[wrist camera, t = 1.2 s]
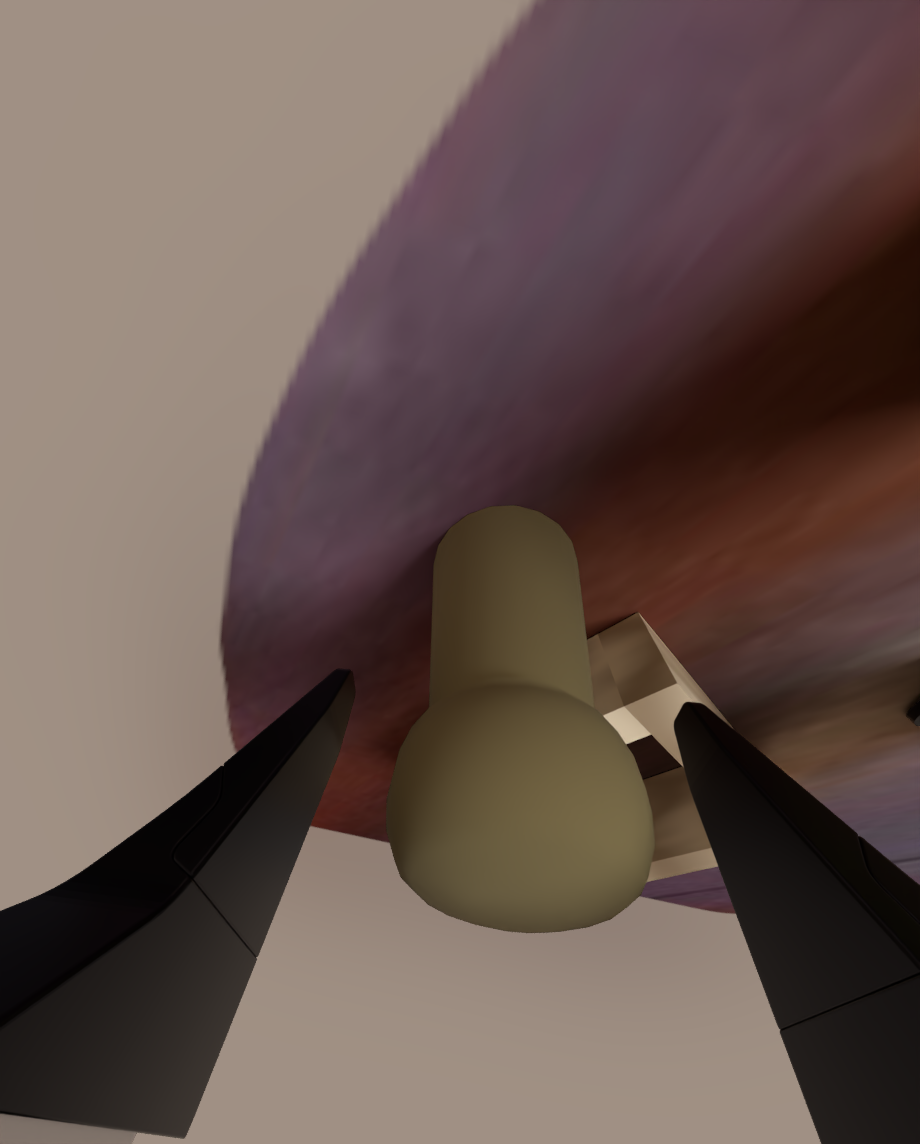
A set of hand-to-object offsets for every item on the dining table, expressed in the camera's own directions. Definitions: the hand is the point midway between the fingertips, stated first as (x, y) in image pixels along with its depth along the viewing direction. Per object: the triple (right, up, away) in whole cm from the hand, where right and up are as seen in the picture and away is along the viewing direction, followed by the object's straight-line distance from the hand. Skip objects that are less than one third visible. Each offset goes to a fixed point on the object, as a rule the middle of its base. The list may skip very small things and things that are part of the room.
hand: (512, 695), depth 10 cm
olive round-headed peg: (0, +3, +6) cm, 7 cm away
